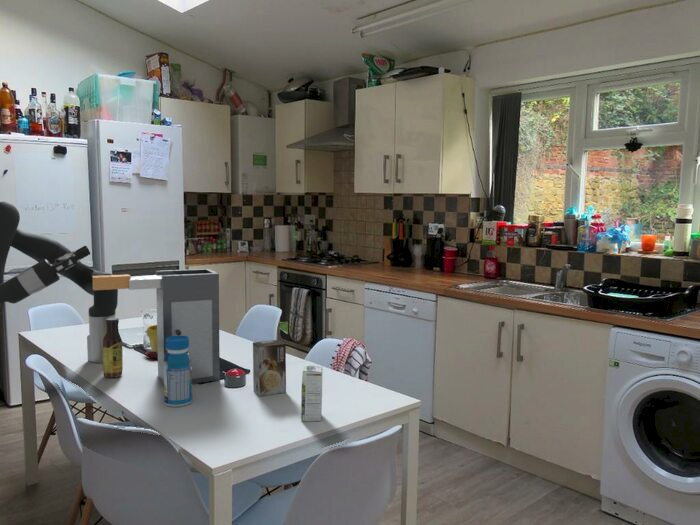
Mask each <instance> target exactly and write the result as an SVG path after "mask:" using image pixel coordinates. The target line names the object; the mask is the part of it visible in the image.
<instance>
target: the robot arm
mask: <svg viewBox="0 0 700 525" xmlns="http://www.w3.org/2000/svg"><path fill="white" fill-rule="evenodd" d="M20 217H21V216H20V212H19V210H18V209H17V207H16V206H15V205H14V204H12V203H11V202H8V201H0V317H2V314H3V311H4V304H5V303H9V304H13V305H14V304H17V303H19V302H21V301H23V300H25V299H27V298H28V297H30V296H31V295H34V294H37V293H39V292H40V291H42V290H44V289H46V288H48V287H50V286H51V285H54V284H55V283H57V282H58V281H59V280H61V279H60V276H62V277H64V278H66V279H69V280H70V281H72V282H73V283H74V284H75V285H76V286H78V287H79V288H81V289H82V290H84V291H85V292H86V293H87V294H89V295H91V296H93V305H92V306H90V307H89V308H88V329H89V330H88V332H89V335H86V342H87V343H86V346H87V347H86V349H87V351H86V352H87V361H88V362H91V363H96V364H97V363H98V364H103V338H104V336H105V335H106V333H107V331H106V330H107V324H106V319H108V318H117V317H116V316H117V314H116V309H117V307H118V302H119V300H118V299H119V298H118V296H119V294H118V293H119V289H110V290H93V279H92V276H103V275H113V274H112V273H110V272H105V271H99V270H96V269H94V268H91V267H89V266H88V265H86V264H84V263H83V262H82V261H81V260H83V259H84V258H87V256H90V255H91V251H90V249H89V248H88V246H87V245H83V246H82V247H80V248H78V249H76V250H74V251H73V250H72V251H71V250H70V249H69V248H68V247H66V246H65V245H64V244H62V243H60V242H59V241H57V240H55V239H54V238H51V237H49V236H46V235H41V234H36V233H32V232H31V233H30V232H27V231H24V230H22V229H19V228H18V227H19V224H20V219H21V218H20ZM11 247H12V248H13V249H15V250H17V251H19V252H21V253H22V254H24V255H25V256H28V257H29V258H32V259H33V260H34V261H35V262H37V263H35V264H34V265H31V266H29V267H28V268H26V269H24V270H23V271H21V272H20V273H18V274H17V275H15V276H14V277H13V276H12V277H11V278H9V279H8V280H6V281H4V275H5V269H6V264H7V259H8V256H9V252H10V249H11Z"/></svg>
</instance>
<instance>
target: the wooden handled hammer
mask: <svg viewBox="0 0 700 525" xmlns="http://www.w3.org/2000/svg"><path fill="white" fill-rule="evenodd" d="M173 275H176V274H173ZM92 279H93V290H110V289H118V290H125V289H127V290H130V291H131V290H132V291H133V290H148V289H149V290H151V289H152V290H153V289H156V288H162V277H161V275H156V274H153V275H151V274H150V275H134V276H133V275H132V276H131V274H129V273H128V274H127V273H126V274H112V275H103V276H92Z"/></svg>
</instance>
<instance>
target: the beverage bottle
mask: <svg viewBox="0 0 700 525" xmlns="http://www.w3.org/2000/svg"><path fill="white" fill-rule="evenodd" d="M165 344H166V350H168V351H167V353H166V354H165V356H164V359H163V362H164V367H163V373H164V385H163V388H164V389H163V390H164V395H163V396H164V398H163V403H164V405H165V406H167V407H172V408H174V407H175V408H176V407H178V408H179V407H185V406H187V405H190V404H191V403H192V402H193V390H192V389H193V388H192V385H193V384H192V365H191V361H192V358H191V355H190V353H189V352H188V350H187V349H188V348H189V338H188V337H187V336H181V335H178V336H170V337H167V338H166V340H165Z"/></svg>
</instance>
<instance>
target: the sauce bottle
mask: <svg viewBox="0 0 700 525" xmlns="http://www.w3.org/2000/svg"><path fill="white" fill-rule="evenodd" d="M106 324H107V330H106V331H107V333H106V335H105V336H104V338H103V363H102V372H103V377H104V378H107V379H113V378H119V377H121V376H122V375H123V369H124V368H123V366H124V364H123V340H122V338H121V335H120V332H119V318H118V317H116V318H108V319H106Z"/></svg>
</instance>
